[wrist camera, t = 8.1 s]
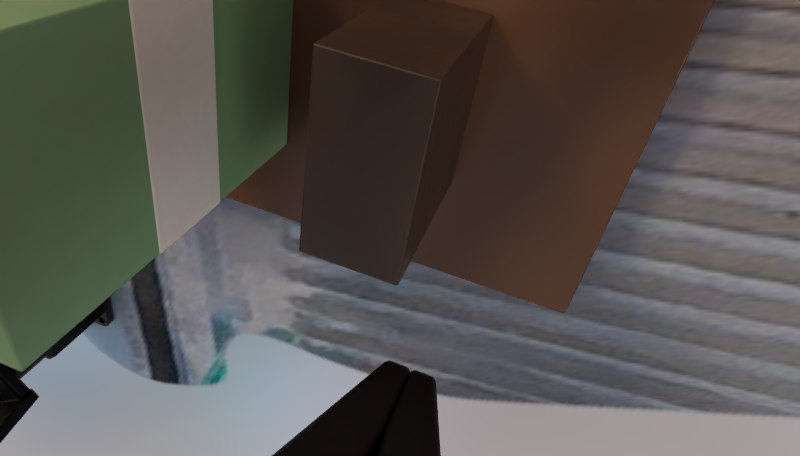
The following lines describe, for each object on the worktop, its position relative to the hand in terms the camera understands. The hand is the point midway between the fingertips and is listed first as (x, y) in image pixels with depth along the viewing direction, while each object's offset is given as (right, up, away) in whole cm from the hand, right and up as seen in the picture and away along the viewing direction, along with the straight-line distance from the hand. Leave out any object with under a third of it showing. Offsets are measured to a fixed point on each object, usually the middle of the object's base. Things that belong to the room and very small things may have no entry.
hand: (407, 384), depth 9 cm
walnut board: (-3, +9, +11) cm, 14 cm away
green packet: (-3, +8, +10) cm, 13 cm away
